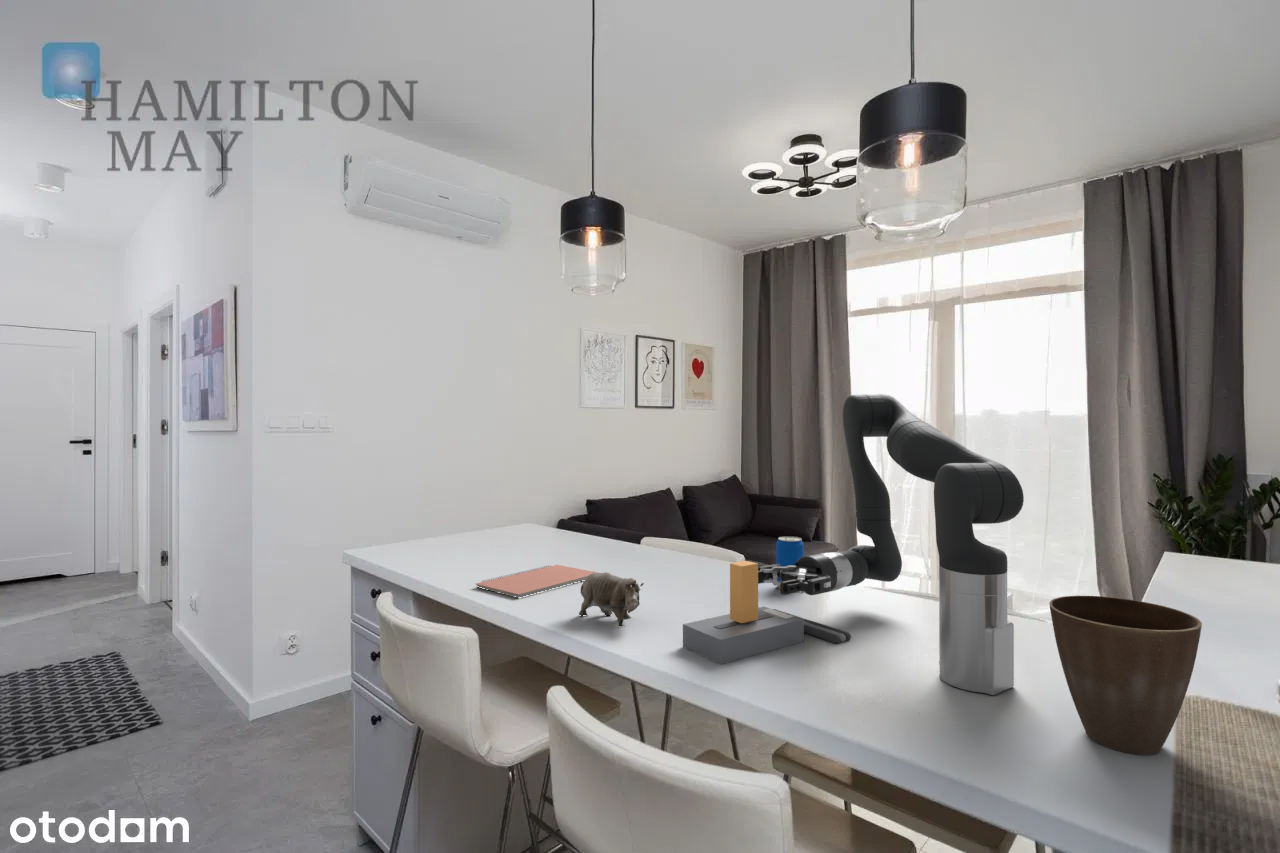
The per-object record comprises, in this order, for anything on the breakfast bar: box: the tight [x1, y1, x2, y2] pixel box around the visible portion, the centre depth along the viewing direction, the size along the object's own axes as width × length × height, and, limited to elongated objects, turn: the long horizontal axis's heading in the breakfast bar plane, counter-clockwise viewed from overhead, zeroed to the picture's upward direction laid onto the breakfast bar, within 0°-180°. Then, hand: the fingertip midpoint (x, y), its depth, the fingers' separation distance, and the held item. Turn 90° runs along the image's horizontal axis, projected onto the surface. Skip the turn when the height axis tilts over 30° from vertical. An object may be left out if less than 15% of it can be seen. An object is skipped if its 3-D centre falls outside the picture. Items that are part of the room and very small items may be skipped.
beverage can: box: [775, 536, 805, 589], centre depth 153 cm, size 6×6×12 cm
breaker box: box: [682, 606, 805, 665], centre depth 113 cm, size 10×20×4 cm, turn 124°
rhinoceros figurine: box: [578, 572, 645, 626], centre depth 128 cm, size 8×14×15 cm
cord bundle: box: [773, 608, 852, 644], centre depth 120 cm, size 19×10×1 cm, turn 34°
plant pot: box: [1048, 595, 1203, 756], centre depth 78 cm, size 15×15×16 cm
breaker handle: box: [729, 560, 759, 623], centre depth 113 cm, size 3×4×10 cm
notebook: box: [474, 564, 599, 597], centre depth 159 cm, size 27×17×2 cm, turn 141°
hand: (764, 583), depth 116 cm, fingers open, 8 cm apart
